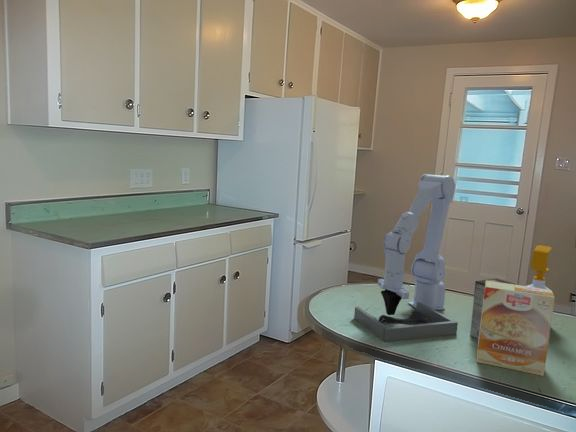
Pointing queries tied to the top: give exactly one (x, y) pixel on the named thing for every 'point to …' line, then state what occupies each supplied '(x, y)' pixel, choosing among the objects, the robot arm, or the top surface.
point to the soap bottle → (540, 266)
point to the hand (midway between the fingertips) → (390, 314)
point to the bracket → (413, 319)
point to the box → (437, 328)
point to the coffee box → (479, 305)
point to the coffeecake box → (515, 327)
